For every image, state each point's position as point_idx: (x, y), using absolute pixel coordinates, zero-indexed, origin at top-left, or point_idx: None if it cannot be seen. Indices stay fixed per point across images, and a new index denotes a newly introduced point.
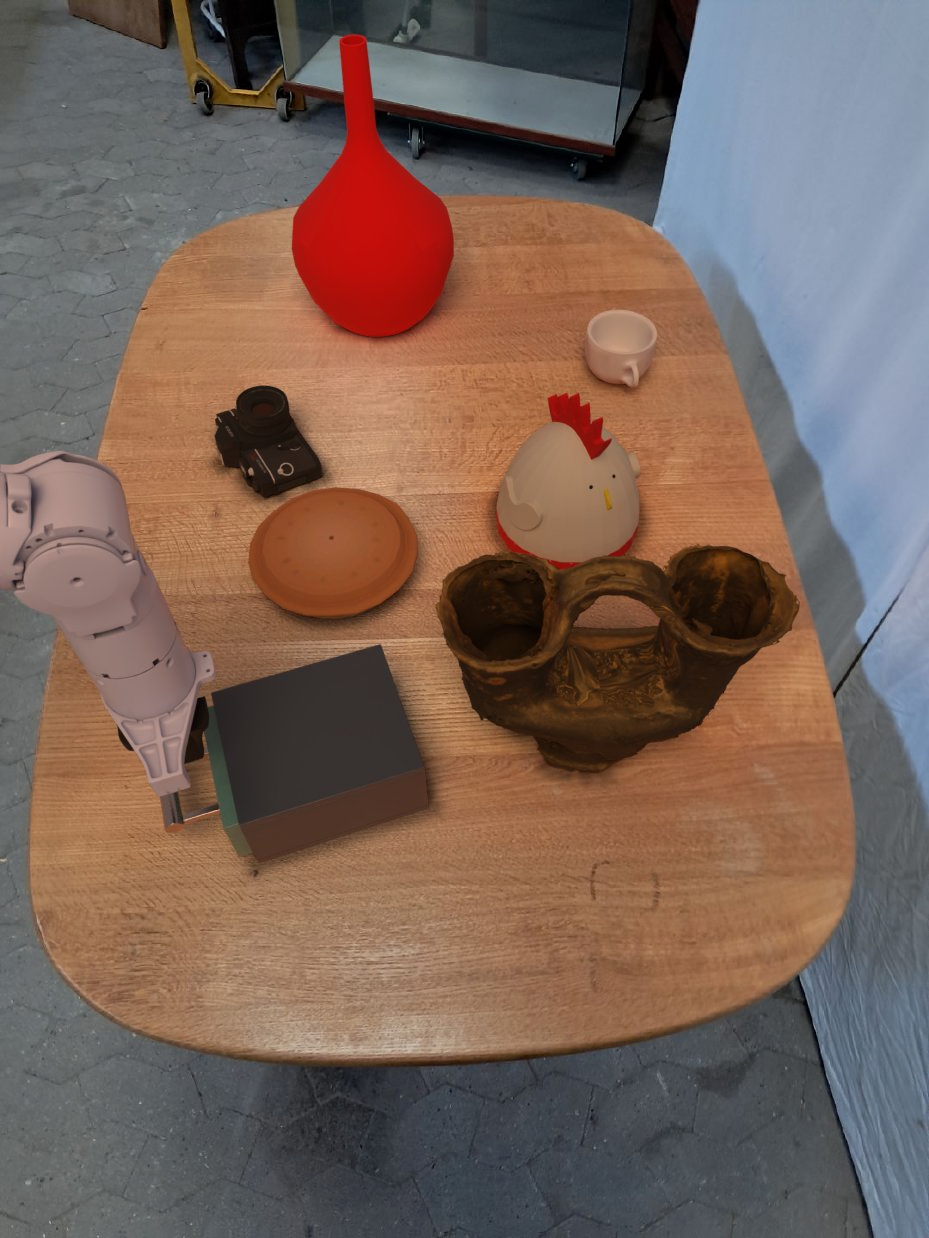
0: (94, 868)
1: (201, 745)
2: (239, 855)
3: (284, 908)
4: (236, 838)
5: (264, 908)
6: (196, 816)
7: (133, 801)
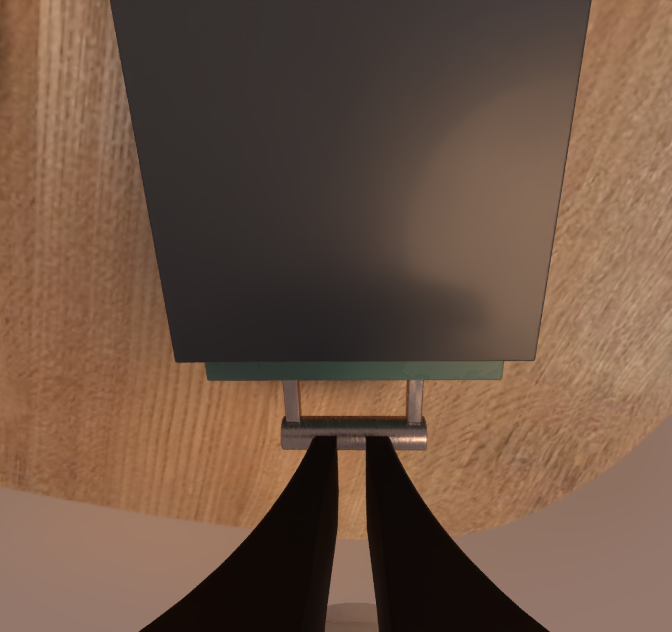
0: None
1: (412, 484)
2: None
3: (565, 267)
4: None
5: (549, 297)
6: (421, 402)
7: None
